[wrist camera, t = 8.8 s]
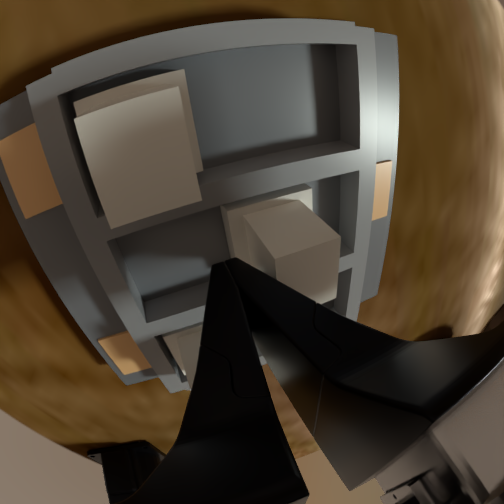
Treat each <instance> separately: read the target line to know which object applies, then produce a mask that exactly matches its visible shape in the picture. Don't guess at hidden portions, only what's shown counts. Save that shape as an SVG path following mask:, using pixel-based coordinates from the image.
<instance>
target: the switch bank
mask: <svg viewBox="0 0 504 504" xmlns="http://www.w3.org/2000/svg"><path fill="white" fill-rule="evenodd" d="M181 69H184V71H185V76H186V82H187V87H188V93H189V98H190V104H191V109H192V114H193V120H194V125H195V130H196V135H197V140H198V145H199V150H200V155H201V160H202V165H203V170H204V171H201V172H198V173H196V175H197V179H198V184H199V188H200V193H201V197H202V201H199V202H195V203H192V204H188V205H185V206H182V207H178V208H175V209H172V210H169V211H165V212H162V213H159V214H156V215H153V216H149V217H146V218H143V219H140V220H137V221H134V222H131V223H128V224H125V225H122V226H119V227H116V228H113V229H111V228H110V225H109V223H108V220H107V218H106V215H105V213H104V210H103V207H102V205H101V202H100V199H99V197H98V194H97V191H96V188H95V185H94V183H93V180H92V177H91V174H90V171H89V168H88V165H87V162H86V159H85V156H84V152H83V149H82V146H81V143H80V139H79V136H78V132H77V129H76V125H75V122H74V119H75V118H76V117H77V115H76V111H75V107H74V103H73V102H76V101H78V100H81V99H83V98H86V97H89V96H91V95H94V94H97V93H100V92H102V91H105V90H108V89H111V88H114V87H117V86H121V85H124V84H127V83H130V82H134V81H137V80H141V79H144V78H148V77H152V76H156V75H160V74H164V73H168V72H172V71H177V70H181ZM51 71H52V74H50V75H48V76H45V77H43V78H41V79H39V80H37V81H35V82H33V83H31V84H29V85H27V86H26V89H27V90H26V91H24V92H22V93H20V94H18V95H17V96H15V97H13V98H11V99H9V100H7V101H6V102H4V103H2V104H0V181H1V183H2V186H3V188H4V191H5V193H6V196H7V198H8V200H9V203H10V205H11V207H12V210H13V212H14V214H15V216H16V218H17V220H18V223H19V225H20V227H21V229H22V231H23V233H24V235H25V237H26V239H27V241H28V243H29V245H30V247H31V248H32V250H33V252H34V254H35V256H36V258H37V260H38V261H39V263H40V265H41V267H42V268H43V270H44V272H45V274H46V275H47V277H48V279H49V280H50V282H51V284H52V285H53V287H54V289H55V290H56V292H57V293H58V295H59V297H60V298H61V300H62V301H63V303H64V304H65V306H66V307H67V309H68V310H69V312H70V313H71V315H72V316H73V318H74V319H75V321H76V322H77V323H78V325H79V326H80V328H81V329H82V330H83V332H84V333H85V335H86V336H87V337H88V339H89V340H90V341H91V343H92V344H93V345H94V347H95V348H96V349H97V350H98V352H99V353H100V354H101V356H102V357H103V358H104V359H105V361H106V362H107V363H108V364H109V366H110V367H111V368H112V369H113V370H114V372H115V373H116V374H117V375H118V376H119V378H120V379H121V380H122V381H123V382H124V383H125V384H126V385H130V384H134V383H138V382H142V381H145V380H149V379H153V378H156V377H159V378H160V379H161V381H162V382H163V384H164V385H165V386H166V388H167V389H168V391H169V392H170V393H174V392H178V391H181V390H185V389H186V390H190V388H189V384H188V380H187V377H186V375H184V374H183V372H182V370H181V369H180V367H179V365H178V364H177V362H176V360H175V358H174V357H173V355H172V353H171V351H170V349H169V348H168V346H167V344H166V342H165V340H164V338H163V335H162V334H165V333H168V332H171V331H174V330H177V329H181V328H184V327H187V326H190V325H193V324H196V323H199V322H202V321H203V318H204V311H205V304H206V297H207V291H208V284H209V277H210V271H211V266H212V265H213V264H216V263H219V262H222V261H225V260H228V259H231V257H230V253H229V248H228V243H227V238H226V233H225V228H224V223H223V218H222V213H221V208H220V205H224V204H227V203H231V202H234V201H238V200H241V199H245V198H249V197H252V196H256V195H260V194H263V193H267V192H271V191H275V190H279V189H283V188H286V187H290V186H294V185H298V184H302V183H305V184H307V185H308V186H309V187H311V188H312V206H313V212H314V213H315V214H316V215H317V216H318V217H320V218H321V219H322V220H323V221H324V222H325V223H326V224H327V225H329V226H330V227H331V228H332V229H333V230H334V231H335V232H336V233H337V234H338V235H340V236H341V244H340V259H339V272H338V284H337V295H336V298H335V299H332V300H330V301H327V302H325V303H323V304H321V305H323V306H325V307H327V308H329V309H331V310H333V311H335V312H336V313H338V314H340V315H342V316H345V317H347V318H349V319H351V320H354V321H357V316H358V311H359V306H360V302H363V301H365V300H367V299H369V298H371V297H373V296H375V295H377V292H378V287H379V282H380V277H381V272H382V267H383V261H384V256H385V250H386V244H387V238H388V231H389V225H390V218H391V210H392V202H393V193H394V184H395V173H396V161H397V146H398V125H399V66H398V46H397V35H392V34H385V33H379V32H374V29H373V28H366V27H357V26H355V22H349V21H338V20H324V19H297V18H282V19H254V20H240V21H229V22H220V23H212V24H204V25H198V26H192V27H186V28H180V29H175V30H170V31H165V32H160V33H156V34H152V35H148V36H144V37H140V38H136V39H132V40H128V41H125V42H122V43H118V44H115V45H112V46H108V47H105V48H102V49H99V50H96V51H94V52H91V53H88V54H85V55H83V56H80V57H77V58H75V59H72V60H70V61H67V62H65V63H62V64H60V65H58V66H55V67H53V68H51ZM255 345H256V343H255ZM256 349H257V352H258V355H259V359H260V362H261V365H264V364H267V362H266V360H265V359H264V357H263V355H262V354H261V352H260V350H259V348H258V347H257V345H256Z"/></svg>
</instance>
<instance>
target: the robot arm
mask: <svg viewBox="0 0 504 504" xmlns="http://www.w3.org/2000/svg"><path fill="white" fill-rule="evenodd" d="M255 343H256V345H257V347H258V348H259V350H260V352H261V354H262V355H263V357H264V359H265V360H266V362H267V364H268V365H269V367H270V369H271V370H272V372H273V373H274V375H275V377H276V378H277V380H278V382H279V383H280V385H281V387H282V388H283V390H284V391H285V393H286V395H287V396H288V398H289V400H290V401H291V403H292V404H293V406H294V408H295V409H296V411H297V412H298V414H299V416H300V417H301V419H302V420H303V422H304V423H305V425H306V427H307V428H308V430H309V431H310V433H311V434H312V436H313V437H314V439H315V441H316V442H317V444H318V445H319V447H320V448H321V450H322V451H323V453H324V454H325V456H326V457H327V459H328V460H329V462H330V463H331V465H332V466H333V468H334V469H335V471H336V472H337V474H338V475H339V477H340V478H341V480H342V481H343V483H344V484H345V485H346V487H347V488H348V490H349V491H351V490H353V489H355V488H357V487H358V486H361V485H362V484H364V483H366V482H368V481H370V480H371V479H373V478H376V480H377V481H378V483H379V485H380V486H381V488H382V489H383V491H384V493H385V494H384V495H382V496H381V497H380V498H381V500H382V502H383V504H504V320H503V321H502V322H501V323H500V324H499V325H498V326H496V327H495V328H493V329H491V330H489V331H486V332H483V333H479V334H474V335H468V336H461V337H454V338H446V339H438V340H429V341H418V342H415V341H406V340H402V339H399V338H396V337H393V336H390V335H388V334H385V333H383V332H380V331H378V330H376V329H373V328H371V327H368V326H366V325H363V324H361V323H358V322H356V321H354V320H351V319H349V318H347V317H345V316H342V315H340V314H338V313H336V312H335V311H333V310H331V309H329V308H327V307H325V306H323V305H321V304H320V303H316V301H314V300H312V299H310V298H309V297H307V296H305V295H303V294H301V293H300V292H298V291H296V290H294V289H292V288H291V287H289V286H287V285H285V284H283V283H282V282H280V281H278V280H276V279H275V278H273V277H271V276H269V275H267V274H266V273H264V272H262V271H260V270H259V269H257V268H255V267H253V266H251V265H250V264H248V263H246V262H244V261H243V260H241V259H239V258H237V257H234V258H231V259H228V260H225V261H222V262H219V263H216V264H213V265H212V266H211V271H210V277H209V284H208V291H207V297H206V304H205V311H204V318H203V325H202V333H201V340H200V347H199V354H198V361H197V367H196V372H195V377H194V381H193V385H192V389H191V392H190V396H189V399H188V403H187V406H186V410H185V414H184V417H183V421H182V425H181V428H180V431H179V434H178V437H177V439H176V441H175V443H174V445H173V447H172V448H171V449H170V451H169V452H168V453H167V455H165V454H164V453H163V452H161V451H160V450H158V449H157V448H156V447H154V446H153V445H152V444H150V443H149V442H140V443H135V444H130V445H125V446H119V447H113V448H107V449H100V450H93V451H88V452H87V456H88V457H89V458H91V459H93V460H94V461H96V462H98V463H100V464H102V467H103V473H104V479H105V485H106V490H107V493H108V498H109V503H110V504H305V503H306V501H307V499H308V497H309V492H308V489H307V487H306V484H305V482H304V480H303V477H302V475H301V473H300V470H299V468H298V466H297V463H296V461H295V458H294V456H293V454H292V451H291V449H290V446H289V444H288V441H287V439H286V436H285V434H284V431H283V429H282V426H281V424H280V421H279V419H278V416H277V413H276V410H275V408H274V404H273V401H272V398H271V395H270V392H269V388H268V385H267V382H266V379H265V375H264V372H263V369H262V365H261V362H260V359H259V355H258V352H257V349H256V345H255Z"/></svg>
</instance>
